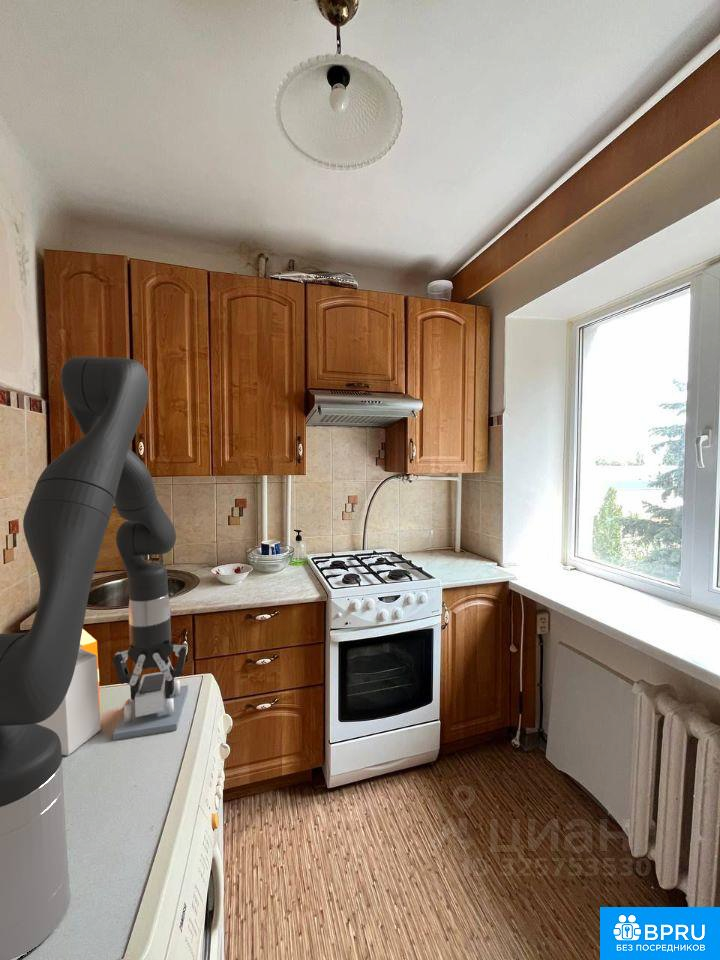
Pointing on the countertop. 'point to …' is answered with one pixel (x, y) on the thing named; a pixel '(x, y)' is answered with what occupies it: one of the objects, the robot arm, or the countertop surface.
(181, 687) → the grey plate with pegs
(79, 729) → the milk carton
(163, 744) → the countertop surface
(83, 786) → the countertop surface
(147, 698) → the block
